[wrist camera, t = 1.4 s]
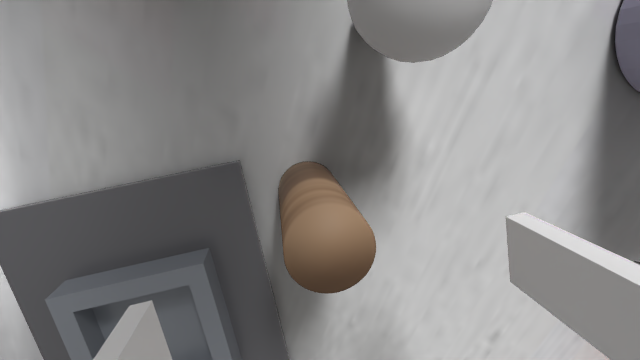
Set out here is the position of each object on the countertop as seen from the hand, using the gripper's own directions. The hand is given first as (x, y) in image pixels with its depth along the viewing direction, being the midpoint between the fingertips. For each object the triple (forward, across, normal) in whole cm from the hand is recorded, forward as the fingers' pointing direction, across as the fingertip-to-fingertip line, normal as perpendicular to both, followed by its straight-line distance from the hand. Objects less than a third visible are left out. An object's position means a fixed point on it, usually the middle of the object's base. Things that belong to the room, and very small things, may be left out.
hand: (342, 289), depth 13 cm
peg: (+12, 0, 0) cm, 13 cm away
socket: (+13, -12, -6) cm, 19 cm away
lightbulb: (+13, +6, +10) cm, 17 cm away
